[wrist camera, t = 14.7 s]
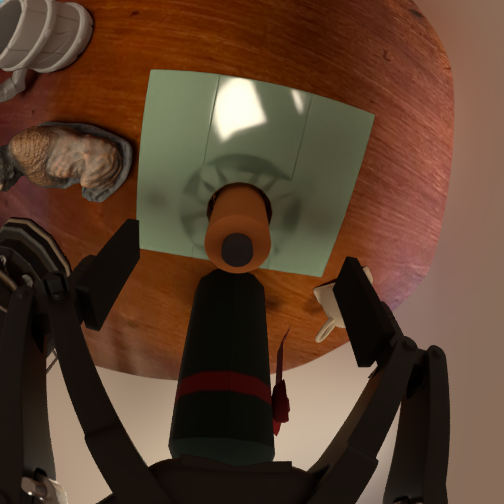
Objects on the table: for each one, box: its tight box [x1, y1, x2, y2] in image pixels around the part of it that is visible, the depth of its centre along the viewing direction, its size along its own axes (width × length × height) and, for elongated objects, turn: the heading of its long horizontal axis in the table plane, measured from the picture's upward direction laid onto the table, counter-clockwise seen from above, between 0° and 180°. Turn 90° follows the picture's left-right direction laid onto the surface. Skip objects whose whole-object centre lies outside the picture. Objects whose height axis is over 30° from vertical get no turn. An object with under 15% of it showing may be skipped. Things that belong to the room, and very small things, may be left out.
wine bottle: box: [168, 269, 290, 466], centre depth 18 cm, size 8×10×30 cm
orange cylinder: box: [204, 182, 271, 273], centre depth 21 cm, size 4×4×9 cm
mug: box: [0, 0, 93, 102], centre depth 10 cm, size 8×12×12 cm, turn 127°
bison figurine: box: [0, 121, 133, 202], centre depth 17 cm, size 12×7×10 cm, turn 72°
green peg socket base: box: [136, 70, 375, 277], centre depth 22 cm, size 18×16×2 cm
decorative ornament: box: [313, 266, 373, 342], centre depth 28 cm, size 4×8×5 cm, turn 115°
